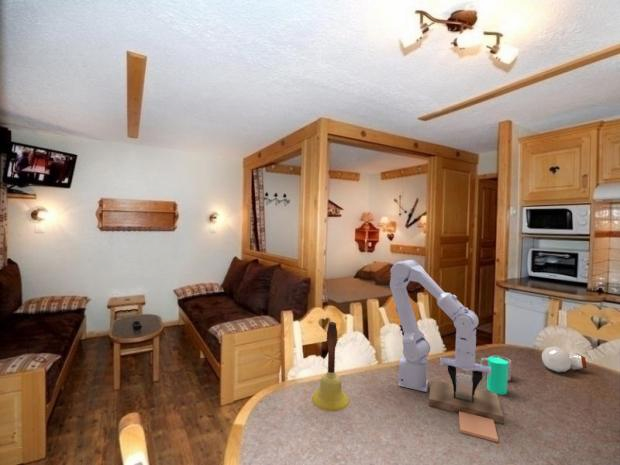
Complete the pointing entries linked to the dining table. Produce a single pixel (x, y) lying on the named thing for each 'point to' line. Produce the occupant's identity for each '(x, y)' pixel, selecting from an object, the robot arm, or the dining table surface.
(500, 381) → the candle
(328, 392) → the handbell
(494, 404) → the wooden board with hole
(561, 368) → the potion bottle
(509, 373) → the mug
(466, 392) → the steel plug
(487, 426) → the terracotta tile
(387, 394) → the dining table surface
